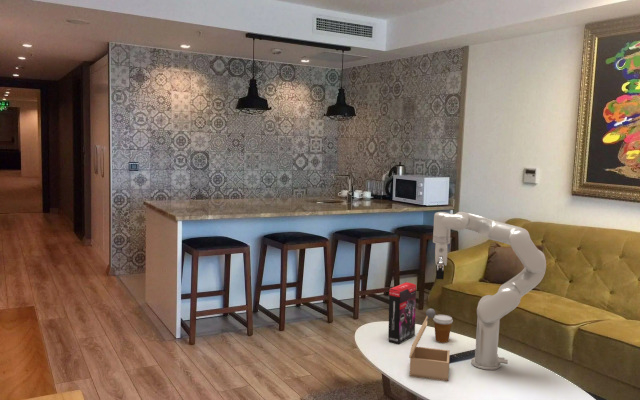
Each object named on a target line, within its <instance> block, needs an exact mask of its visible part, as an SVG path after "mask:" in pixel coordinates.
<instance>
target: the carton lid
mask: <svg viewBox="0 0 640 400" xmlns="http://www.w3.org/2000/svg"><path fill="white" fill-rule="evenodd" d="M425 314H426V316H425V319H424V321H423V322H422V324H421V326H420V328H419V331H418V333H416V334H417V335H416V336H415V339H414V340H413V343H412V344H411V347H410V352H409V356H408V358H409V359H410V358H411V356H412V354H413V352H414V350H415V348H416V347H418V344H419V342H420V340H421V338H422V336H423V334H424V332H425V330H426V329H427V327H428V322H429V319H433V318H434V317H435V316H436V310H435V309H434V308H428V309H426V311H425Z"/></svg>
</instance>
